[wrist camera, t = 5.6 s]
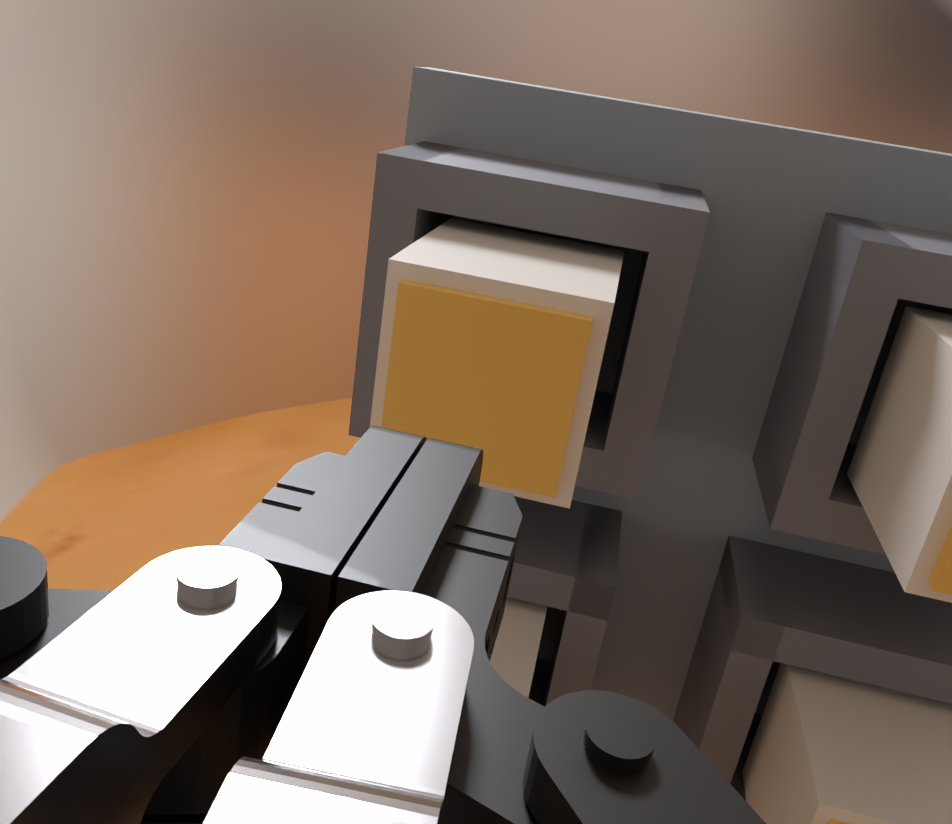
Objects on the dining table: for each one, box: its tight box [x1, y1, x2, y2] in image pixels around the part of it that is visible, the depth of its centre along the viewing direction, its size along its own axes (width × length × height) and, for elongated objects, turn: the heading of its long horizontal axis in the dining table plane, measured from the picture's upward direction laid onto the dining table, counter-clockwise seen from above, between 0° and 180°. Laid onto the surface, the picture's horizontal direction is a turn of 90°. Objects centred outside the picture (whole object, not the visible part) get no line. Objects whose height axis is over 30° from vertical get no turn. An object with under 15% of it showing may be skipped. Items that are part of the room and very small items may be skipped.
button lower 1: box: [490, 597, 547, 697], centre depth 21 cm, size 4×5×4 cm
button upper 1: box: [370, 218, 624, 509], centre depth 18 cm, size 4×5×4 cm
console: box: [349, 67, 952, 801], centre depth 26 cm, size 18×10×24 cm, turn 79°
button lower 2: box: [742, 663, 952, 824], centre depth 20 cm, size 4×5×4 cm
